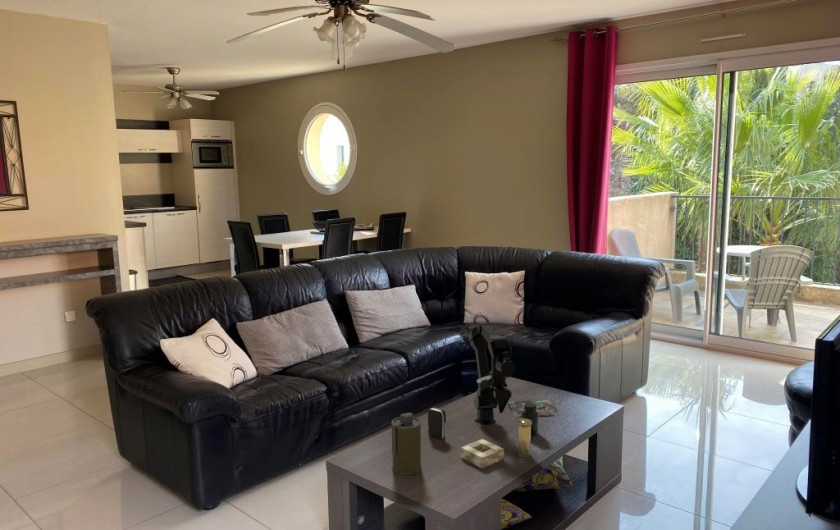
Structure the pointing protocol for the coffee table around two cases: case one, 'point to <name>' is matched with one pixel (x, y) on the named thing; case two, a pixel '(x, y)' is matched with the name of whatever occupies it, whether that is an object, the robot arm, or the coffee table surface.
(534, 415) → the supplement bottle
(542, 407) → the terrain model
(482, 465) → the bore block
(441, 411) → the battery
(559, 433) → the coffee table surface
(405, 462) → the canister
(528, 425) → the brass capped cylinder
